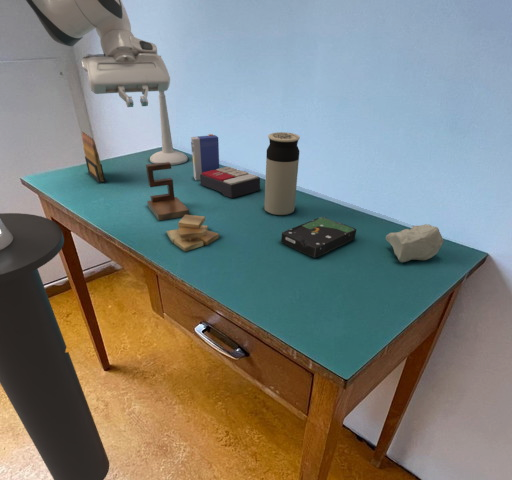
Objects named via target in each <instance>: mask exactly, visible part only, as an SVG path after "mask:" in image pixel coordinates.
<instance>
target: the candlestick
mask: <svg viewBox="0 0 512 480" xmlns="http://www.w3.org/2000/svg"><path fill="white" fill-rule="evenodd" d="M157 55H159V54H158V53H157ZM159 56H160V57H161V58H162V55H159ZM158 103H159V105H158V106H159V118H160V132H161V133H160V135H161V147H162V148H161V150H160V151H157V152H154V153H153V154H152V155H150V157H149V161H150V163H151V164H156V163H165V162H169V163H171V166H176V165H182V164H184V163H186V162H187V161H188V156H187V155H186V154H185V153H183V152H182V151H178V150H174V146H173V140H172V133H171V132H172V131H171V126H170V119H169V113H168V106H167V100H166V94H165V91H158Z"/></svg>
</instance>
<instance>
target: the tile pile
mask: <svg viewBox="0 0 512 480" xmlns="http://www.w3.org/2000/svg"><path fill="white" fill-rule="evenodd" d="M205 222H206V216H203V215H194V214H193V215H192V214H189V215H184V217H181V219H180V220H179V221H178V222H177V224H178V228H176V229H170V230H166V235H167V236H168V239H169V240H170V242H171V243H172V244H173V245H175V246H177V247H178V248H179V249H180V250H182V251H183V252H189V251H191V250H195V249H198V248H200V247H204V245H205V246H208V245H210V244H212V243H213V242H215V241H217V240H218V239H219V238H220V233H217V232H214V231H211V230H209V226H208V225H203V224H204V223H205Z"/></svg>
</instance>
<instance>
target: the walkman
mask: <svg viewBox="0 0 512 480" xmlns="http://www.w3.org/2000/svg"><path fill="white" fill-rule="evenodd" d="M190 146H191V147H190V148H191V155H192V166H193V167H192V168H193V178H194V180H195V181H200V174H202V172H206V171H211V170H216V169H219V168H220V150H219V149H220V147H219V137H218V135H215V134H212V133H209V134H208V135H199V136H190Z"/></svg>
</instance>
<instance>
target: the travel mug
mask: <svg viewBox="0 0 512 480" xmlns="http://www.w3.org/2000/svg"><path fill="white" fill-rule="evenodd" d="M267 137H268V141H269V145H268V146H267V148H266V156H265V157H266V158H265V159H266V160H265V180H264V181H265V182H264V183H265V185H264V186H265V187H264V211H265V212H267V213H269V214H271V215H275V216H287V215H289V214H292V213H294V211H295V208H296V196H297V195H296V194H297V184H298V172H299V163H300V149H299V147H298V144H299V140H300V135H298V134H296V133H292V132H286V131H285V132H282V131H281V132H280V131H279V132H278V131H277V132H272V133H270V134H268V135H267Z"/></svg>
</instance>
